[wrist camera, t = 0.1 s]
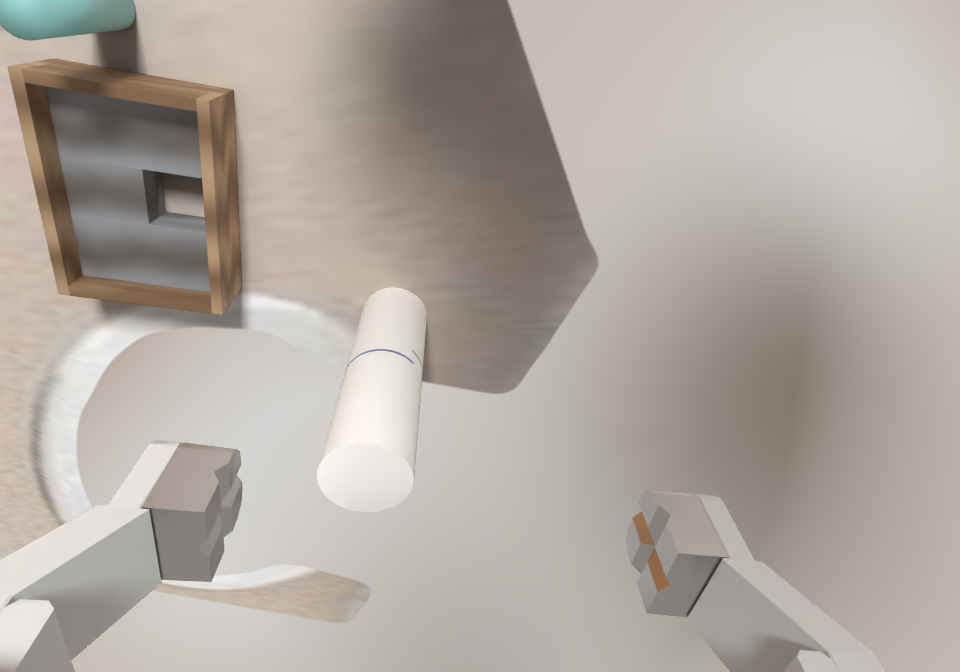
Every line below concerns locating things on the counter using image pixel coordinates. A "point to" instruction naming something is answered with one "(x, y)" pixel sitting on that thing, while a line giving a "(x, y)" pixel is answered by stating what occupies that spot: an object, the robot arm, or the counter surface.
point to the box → (132, 183)
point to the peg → (64, 17)
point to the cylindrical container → (377, 407)
